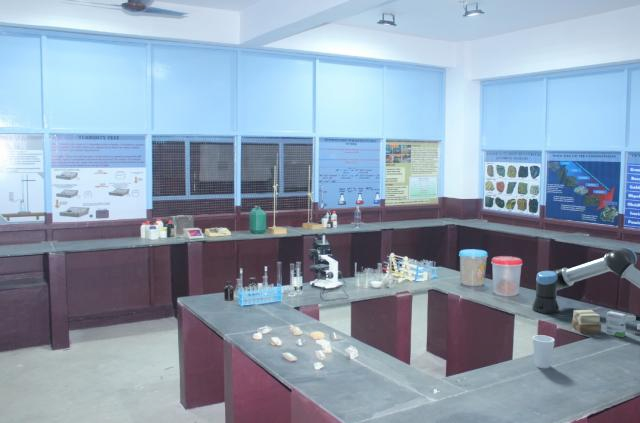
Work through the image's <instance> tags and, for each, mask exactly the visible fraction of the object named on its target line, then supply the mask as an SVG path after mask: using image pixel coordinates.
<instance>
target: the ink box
mask: <svg viewBox="0 0 640 423" xmlns="http://www.w3.org/2000/svg"><path fill="white" fill-rule="evenodd" d="M626 316H627V314H625V313H621V312H616V311H612V310H611V311H607V312H606V319H605V334H606V335H609V336H614V337H619V338H623V337H625V336H626V323H627V321H626Z"/></svg>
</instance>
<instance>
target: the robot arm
mask: <svg viewBox="0 0 640 423" xmlns="http://www.w3.org/2000/svg"><path fill="white" fill-rule="evenodd" d="M637 261H638V256H637V254H636V252H635V251H634V250H633V249H631V248H628V247H621V248H619V249H615V250H614V251H613V250H612V251H610V252H607V253H605V254H604V256H603V257H600V258H598V259H594V260H592V261H588V262H585V263H582V264H579V265H576V266H574V267H573V266H572V267H570V268H567V267H563V268H559V269H555V270H542V271H539V272H538V273H537V274H536V280H535V282H536V284H535V287H536V289H535V298H534V300H533V303H532V310H533V311H534V310H535V311H534V312H536V311H538V312H537V313H540V312H541V314H547V313H551V315H552V314H558V313H559V312H560V306H559V304H558V300H557V291H560V290H563V289H564V288H565V289H566V288H569V287H571V286H574V284H575V283H577V282H579V281H583V280H585V279H589V278H592V277H595V276H598V275H602V274H606V273H607V272H608V273H609V272H612V273H613V274H615V275H617V276H618V277H620V279H625V280H627V281H629V282H631V284H633V285H634V286H636V287H637V288H638V289H640V270H639V269H638V268H636V266H635V265H636V264H637ZM636 321H637V322H640V314H634V315H626V322H636ZM636 325H637V326H636V328H637V330H638V331H639V330H640V323H637V324H636Z"/></svg>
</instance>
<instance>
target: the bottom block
mask: <svg viewBox="0 0 640 423" xmlns="http://www.w3.org/2000/svg"><path fill="white" fill-rule="evenodd" d="M571 328H572V329H574V330H576V331H577V333H579V334H602V332H601V331H602V324H600V325H581V324H579V323H578V322H577V321H575V320H574V319H573V318H571Z"/></svg>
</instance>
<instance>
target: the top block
mask: <svg viewBox="0 0 640 423" xmlns="http://www.w3.org/2000/svg"><path fill="white" fill-rule="evenodd" d="M572 319H574V320H575V321H577V322H578V323H579V324H581V325H600V322H601V315H600V314H598V313H597V312H595V311H594V310H593V309H573V314H572Z"/></svg>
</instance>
